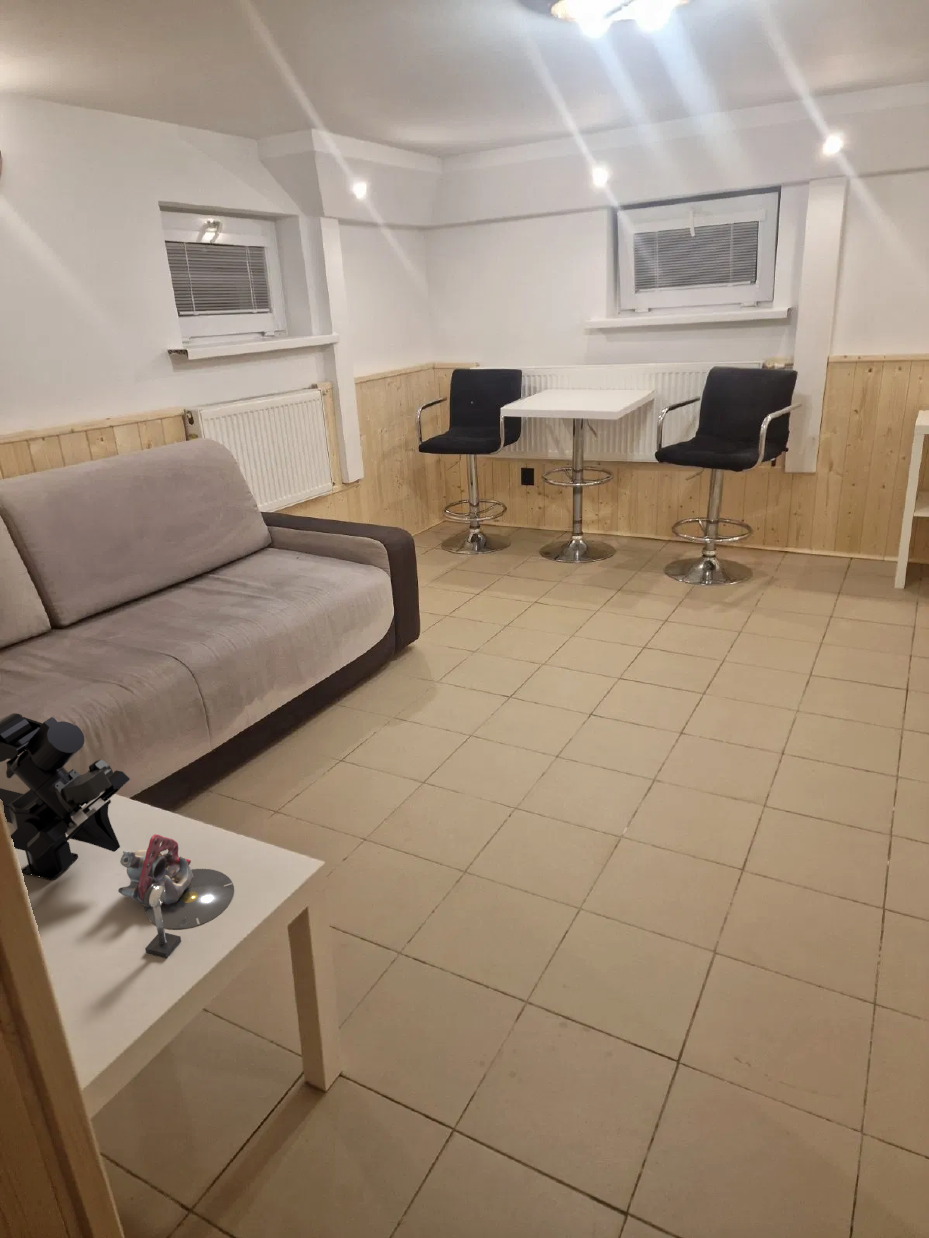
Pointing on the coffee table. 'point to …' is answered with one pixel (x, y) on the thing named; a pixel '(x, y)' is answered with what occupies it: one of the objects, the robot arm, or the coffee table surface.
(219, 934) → the coffee table surface
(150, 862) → the brake caliper
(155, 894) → the stand
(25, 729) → the robot arm
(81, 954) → the coffee table surface
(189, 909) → the truing plate
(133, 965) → the coffee table surface
